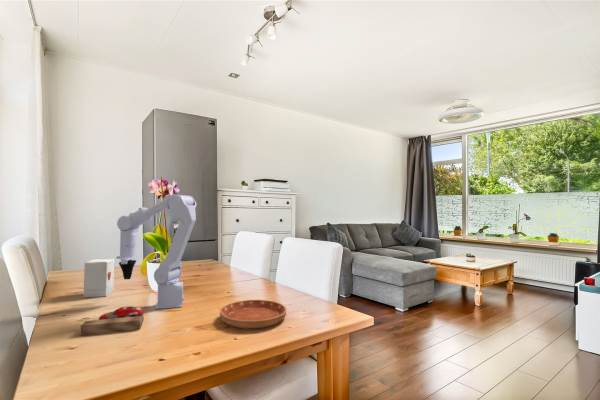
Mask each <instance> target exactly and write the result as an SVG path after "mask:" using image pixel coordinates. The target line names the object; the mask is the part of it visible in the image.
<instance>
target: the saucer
mask: <svg viewBox="0 0 600 400" xmlns="http://www.w3.org/2000/svg"><path fill="white" fill-rule="evenodd" d="M286 316H287V308H286V306H285V305H284V304H282V303H279V302H277V301H273V300H268V299H266V300H265V299H248V300H247V299H245V300H239V301H234V302H230V303H228V304H226V305H224V306H223V307H221V309H220V310H219V317H220V320H221V321H223V322H224V323H226V324H227V325H229V326H231V327H235V328H240V329H247V328H249V329H250V328H253V329H262V328H267V327H271V326H273V325H275V324H277V323H279V322H280V321H283V320H284V319H285V318H286Z"/></svg>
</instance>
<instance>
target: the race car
mask: <svg viewBox="0 0 600 400" xmlns="http://www.w3.org/2000/svg"><path fill="white" fill-rule="evenodd" d="M136 316H144V311H143V309H142V307H137V306H123V307H118V308H117V309H115V310H113V311H109V312H106V313H103V314H101V315H100V316H99V318H98V320H103V319H114V318H125V317H136Z"/></svg>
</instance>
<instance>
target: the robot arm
mask: <svg viewBox="0 0 600 400" xmlns="http://www.w3.org/2000/svg"><path fill="white" fill-rule="evenodd" d="M197 205H198V204H197V202H196V200H195V199H194V197H193V196H191V195H187V194H186V195H184V194H183V195H181V194H172V195H171V196H167V197H166V198H164V199H163V200H161V201H160V202H157V203H156V204H154V205H153V206H151V207H149V208H148V207H142V206H141V207H139V208H138V209H137V210H136V211H134V212H130V213H129V215H121V216H120V217H119V218H118V219H117V221H116V222H117V223H116V226H117V228H118V229H119V230H120V231H119V234H120V235H119V237H120V238H119V239H120V240H119V255H118V256H116V257H115V259H119V260H120V261H119V262H118V265H119V266H120V269H121V271H122V276H123V280H131V277H132V275H133V270H134V267H135V265H136V263H137V260H136V259H137V233H138V230H139V228H140V226H142V225H144V224H146V223H148V222H150V221H152V219H153V218H154V217H153V216H156V215H158V214H160V213H162V212H166V211H168V210H171V211H172V213H174V214H175V215H176V217H177V218H178V220H179V223H178V226H177V229H176V230H175V234H174V236H173V239H172V241H171V243H170V247H169V249H168V251H167V254H166V257H165V258H164V259H163V260H162V261H161V262H160V264H159V266H158V267H157V268H156V270H155V271H154V273H153V278H154V281H155V282H156V284H157V303H156V304H155V307H154V308H155V310H158V309H159V310H160V309H161V310H162V309H170V308H171V309H173V308H182V307H183V302H184V299H185V298H184V297H185V296H184V282H183V281H179V278H180V277H181V275H182V267H183V263H182V261H181V260H182V257H183V255H184V252H185V249H186V247H187V244H188V242H189V239H190V237H191V234H192V231H193V228H194V227H195V223H196V221H197V218H196V216H197V215H196V207H197Z"/></svg>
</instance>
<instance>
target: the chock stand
mask: <svg viewBox="0 0 600 400" xmlns="http://www.w3.org/2000/svg"><path fill="white" fill-rule="evenodd" d="M144 319H145V318H144V315H143V316H136V317H125V318H114V319H103V320H99V319H93V320H85V321H84V322H82V324H81V325H80V333H79V335H80V337H81V336H84V337H85V336H93V335H101V334H112V333H113V334H114V333H121V332H130V331H131V332H132V331H139V330H141V329H142V326H143V323H144Z"/></svg>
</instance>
